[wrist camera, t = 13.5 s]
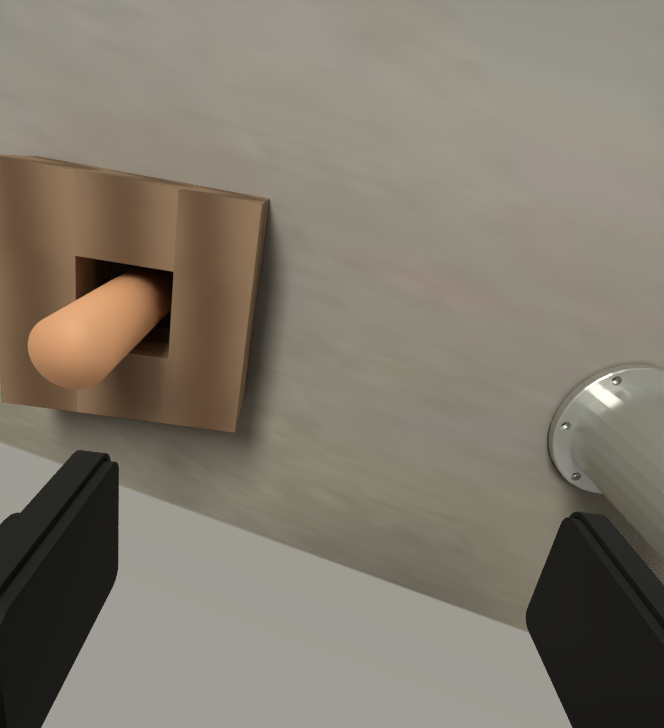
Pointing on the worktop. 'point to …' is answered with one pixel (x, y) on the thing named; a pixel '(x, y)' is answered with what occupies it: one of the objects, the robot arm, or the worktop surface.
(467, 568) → the worktop surface
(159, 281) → the peg
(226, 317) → the socket block
